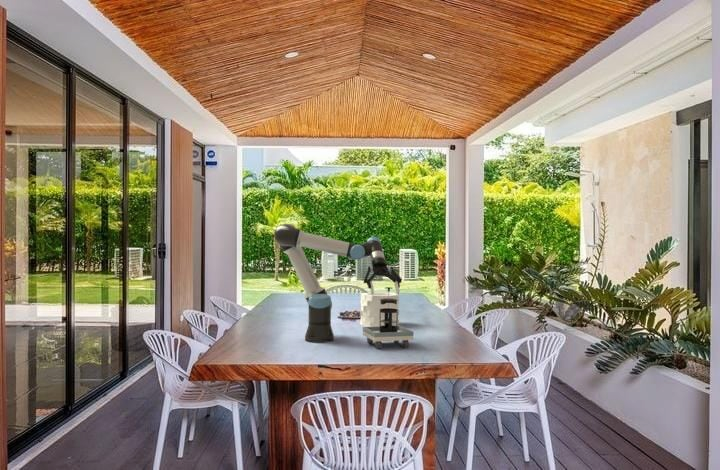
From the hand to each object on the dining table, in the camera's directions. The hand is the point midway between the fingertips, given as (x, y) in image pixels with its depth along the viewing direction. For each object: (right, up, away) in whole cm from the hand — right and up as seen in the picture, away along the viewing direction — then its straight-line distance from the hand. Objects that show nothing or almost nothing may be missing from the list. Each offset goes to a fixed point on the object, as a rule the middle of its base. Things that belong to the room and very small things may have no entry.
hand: (385, 292), depth 312 cm
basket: (-1, -26, +64) cm, 69 cm away
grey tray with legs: (+1, -26, -6) cm, 26 cm away
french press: (+1, -20, -6) cm, 21 cm away
